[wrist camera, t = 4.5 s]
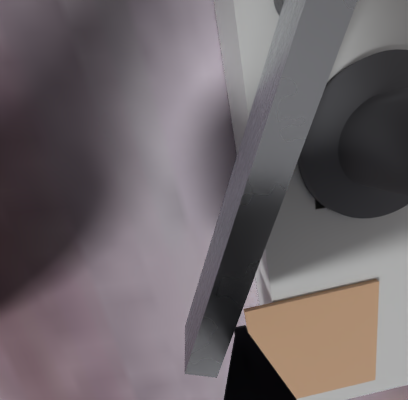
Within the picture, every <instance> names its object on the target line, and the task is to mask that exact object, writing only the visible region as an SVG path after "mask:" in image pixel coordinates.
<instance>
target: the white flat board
mask: <svg viewBox="0 0 408 400" xmlns="http://www.w3.org/2000/svg"><path fill="white" fill-rule="evenodd" d="M213 1H214V7H215V14H216V21H217V27H218V34H219V40H220V47H221V54H222V60H223V67H224V74H225V80H226V87H227V94H228V100H229V107H230V113H231V120H232V127H233V133H234V140H235V147H236V153H237V154H238V151H239V148H240V144H241V141H242V138H243V134H244V131H245V128H246V125H247V121H248V118H249V115H250V111H251V108H252V105H253V101H254V98H255V95H256V92H257V88H258V85H259V82H260V78H261V75H262V72H263V69H264V65H265V62H266V59H267V55H268V52H269V49H270V45H271V42H272V39H273V36H274V32H275V29H276V26H277V22H278V19H279V15H278V13H277V11H276V9H275V6H274V1H273V0H213ZM395 49H400V50H408V0H358V1H357V4H356V6H355V9H354V12H353V14H352V17H351V20H350V22H349V25H348V28H347V30H346V33H345V36H344V38H343V41H342V44H341V46H340V49H339V52H338V54H337V57H336V60H335V62H334V65H333V68H332V70H331V73H330V76H329V78H328V81H329V80H330V79H331V78H332V77H333V76H335V75H336V74H337V73H339V72H340V71H341V70H343V69H344V68H346V67H348V66H349V65H351V64H353V63H355V62H357V61H359V60H361V59H363V58H365V57H368V56H370V55H372V54H375V53H379V52H382V51H387V50H395ZM328 81H327V82H328ZM255 279H256V286H257V293H258V299H259V306H255V307H251V308H246V309H244V314H245V319H246V325H247V330H248V333H249V334H250V335H251V337H252V338H253V340H254V341H255V342H256V344H257V345H258V347H259V348H260V349H261V351H262V352H263V353H264V355H265V356H266V358H267V359H268V360H269V362H270V363H271V364H272V366H273V367H274V369H275V370H276V371H277V373H278V374H279V376H280V377H281V378H282V380H283V381H284V382H285V384H286V385H287V387H288V388H289V389H290V391H291V392H292V393H293V395H294V396H295V398H296V399H297V400H347V399H351V398H355V397H359V396H364V395H368V394H372V393H376V392H380V391H384V390H388V389H392V388H397V387H401V386H405V385H408V205H406V206H405V207H403V208H401V209H399V210H397V211H395V212H392V213H390V214H387V215H384V216H380V217H375V218H352V217H348V216H344V215H342V214H339V213H337V212H335V211H332V210H330V209H328V208H326V207H325V206H323V205H321V204H320V203H319V202H318V201H317V200H316V199H315V198H314V197H313V196H312V195H311V194H310V193H309V191H308V189H307V188H306V186H305V184H304V182H303V180H302V178H301V174H300V171H299V167H298V161H297V164H296V167H295V169H294V172H293V175H292V178H291V180H290V183H289V186H288V188H287V191H286V194H285V196H284V199H283V202H282V204H281V207H280V210H279V212H278V215H277V218H276V220H275V223H274V226H273V228H272V231H271V234H270V236H269V239H268V242H267V244H266V247H265V250H264V252H263V255H262V258H261V260H260V263H259V266H258V269H257V271H256V274H255Z"/></svg>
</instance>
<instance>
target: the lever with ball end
mask: <svg viewBox="0 0 408 400" xmlns="http://www.w3.org/2000/svg"><path fill="white" fill-rule="evenodd" d="M273 1H274V6H275V9H276V11H277V13H278V15H279V19H278V22H277V26H276V29H275V32H274V36H273V39H272V42H271V45H270V49H269V52H268V55H267V59H266V62H265V65H264V69H263V72H262V75H261V78H260V82H259V85H258V88H257V92H256V95H255V98H254V101H253V105H252V108H251V111H250V115H249V118H248V121H247V125H246V128H245V131H244V134H243V138H242V141H241V144H240V148H239V151H238V154H237V157H236V161H235V164H234V167H233V171H232V174H231V177H230V181H229V184H228V187H227V190H226V194H225V197H224V200H223V204H222V207H221V210H220V213H219V217H218V220H217V223H216V227H215V230H214V233H213V237H212V240H211V243H210V246H209V250H208V253H207V256H206V260H205V263H204V266H203V269H202V273H201V276H200V279H199V283H198V286H197V289H196V292H195V296H194V299H193V302H192V306H191V309H190V312H189V316H188V319H187V322H186V325H185V374H191V375H199V376H207V377H216V378H217V376H218V373H219V370H220V368H221V365H222V362H223V360H224V357H225V354H226V351H227V349H228V346H229V343H230V341H231V338H232V335H233V333H234V330H235V327H236V325H237V322H238V319H239V317H240V314H241V311H242V309H243V306H244V303H245V301H246V298H247V295H248V293H249V290H250V287H251V285H252V282H253V279H254V277H255V274H256V271H257V269H258V266H259V263H260V260H261V258H262V255H263V252H264V250H265V247H266V244H267V242H268V239H269V236H270V234H271V231H272V228H273V226H274V223H275V220H276V218H277V215H278V212H279V210H280V207H281V204H282V202H283V199H284V196H285V194H286V191H287V188H288V186H289V183H290V180H291V178H292V175H293V172H294V169H295V167H296V164H297V161H298V159H299V156H300V153H301V151H302V148H303V145H304V143H305V140H306V137H307V135H308V132H309V129H310V127H311V124H312V121H313V119H314V116H315V113H316V111H317V108H318V105H319V103H320V100H321V97H322V95H323V92H324V89H325V87H326V84H327V81H328V78H329V76H330V73H331V70H332V68H333V65H334V62H335V60H336V57H337V54H338V52H339V49H340V46H341V44H342V41H343V38H344V36H345V33H346V30H347V28H348V25H349V22H350V20H351V17H352V14H353V12H354V9H355V6H356V4H357V1H358V0H273Z"/></svg>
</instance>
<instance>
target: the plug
mask: <svg viewBox="0 0 408 400" xmlns="http://www.w3.org/2000/svg"><path fill="white" fill-rule="evenodd" d="M298 167H299V171H300V174H301V178H302V180H303V182H304V184H305V186H306V188H307V189H308V191H309V193H310V194H311V195H312V196H313V197H314V198H315V199H316V200H317V201H318V202H319V203H320V204H321V205H323V206H325V207H326V208H328V209H330V210H332V211H335V212H337V213H339V214H342V215H344V216H348V217H352V218H375V217H380V216H384V215H387V214H390V213H392V212H395V211H397V210H399V209H401V208H403V207H405V206H406V205H408V50H400V49H395V50H387V51H382V52H379V53H375V54H372V55H370V56H368V57H365V58H363V59H361V60H359V61H357V62H355V63H353V64H351V65H349V66H348V67H346V68H344V69H343V70H341V71H340V72H339V73H337V74H336V75H335V76H333V77H332V78H331V79H330V80H329V81H328V82H327V84H326V87H325V89H324V92H323V95H322V97H321V100H320V103H319V105H318V108H317V111H316V113H315V116H314V119H313V121H312V124H311V127H310V129H309V132H308V135H307V137H306V140H305V143H304V145H303V148H302V151H301V153H300V156H299V159H298Z"/></svg>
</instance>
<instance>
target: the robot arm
mask: <svg viewBox="0 0 408 400" xmlns="http://www.w3.org/2000/svg"><path fill="white" fill-rule="evenodd" d="M234 333H235V337H234V343H233V349H232V355H231V361H230V366H229V372H228V378H227V384H226V389H225V395H224V400H297V399H296V398H295V396H294V395H293V393H292V392H291V391H290V389H289V388H288V387H287V385H286V384H285V382H284V381H283V380H282V378H281V377H280V376H279V374H278V373H277V371H276V370H275V369H274V367H273V366H272V364H271V363H270V362H269V360H268V359H267V358H266V356H265V355H264V353H263V352H262V351H261V349H260V348H259V347H258V345H257V344H256V342H255V341H254V340H253V338H252V337H251V335H250V334H249V333H248V330H247V327H246V326H245V325H244V326H238V327H235V330H234Z"/></svg>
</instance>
